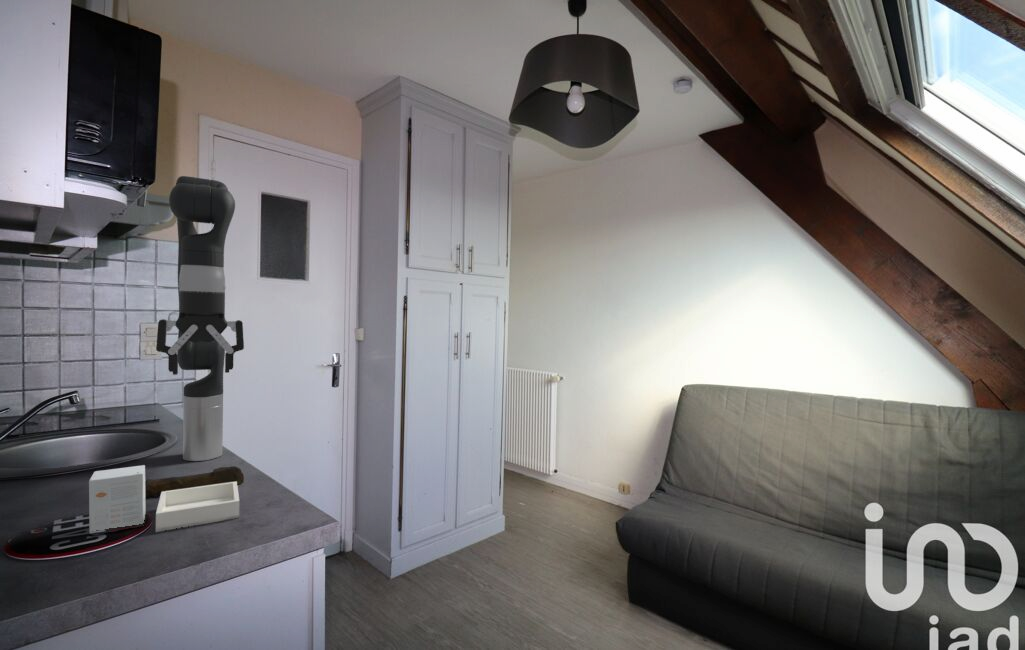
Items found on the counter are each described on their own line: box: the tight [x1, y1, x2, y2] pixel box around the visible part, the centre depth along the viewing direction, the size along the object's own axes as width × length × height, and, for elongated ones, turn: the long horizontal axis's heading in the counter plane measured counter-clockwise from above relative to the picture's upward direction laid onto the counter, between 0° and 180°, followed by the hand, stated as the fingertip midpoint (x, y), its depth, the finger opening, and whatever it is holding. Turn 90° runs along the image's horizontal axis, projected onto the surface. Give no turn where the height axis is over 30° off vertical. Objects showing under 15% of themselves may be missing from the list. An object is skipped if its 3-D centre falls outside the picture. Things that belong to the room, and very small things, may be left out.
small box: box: [88, 464, 147, 532], centre depth 93 cm, size 8×6×10 cm
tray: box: [155, 481, 240, 533], centre depth 100 cm, size 12×14×4 cm
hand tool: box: [145, 465, 245, 499], centre depth 111 cm, size 19×4×5 cm, turn 118°
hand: (201, 373), depth 95 cm, fingers open, 8 cm apart
